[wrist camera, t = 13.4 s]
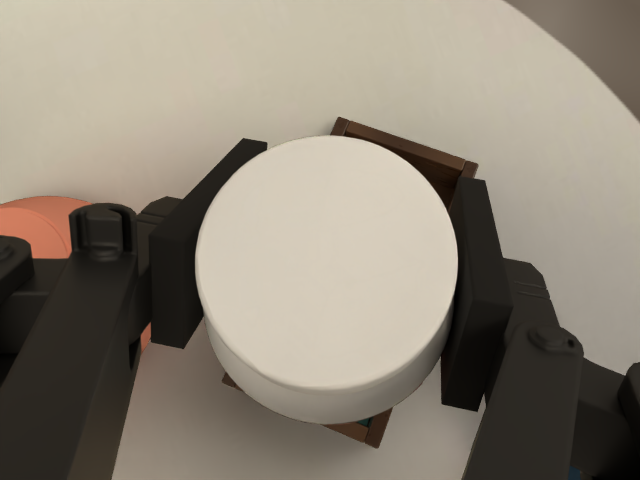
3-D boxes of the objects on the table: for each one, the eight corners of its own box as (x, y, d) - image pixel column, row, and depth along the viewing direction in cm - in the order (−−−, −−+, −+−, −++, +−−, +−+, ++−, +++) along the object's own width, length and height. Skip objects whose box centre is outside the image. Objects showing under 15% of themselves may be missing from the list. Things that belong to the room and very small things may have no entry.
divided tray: (467, 186, 38) (479, 163, 34) (374, 446, 33) (378, 449, 30) (338, 141, 39) (338, 115, 35) (232, 385, 34) (220, 382, 31)
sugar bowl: (212, 295, 36) (163, 249, 26) (49, 479, 33) (-73, 505, 23) (80, 183, 39) (-9, 104, 29) (-81, 345, 36) (-241, 318, 26)
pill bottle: (428, 414, 18) (521, 410, 9) (254, 433, 19) (165, 448, 9) (402, 246, 20) (458, 95, 11) (243, 263, 20) (159, 127, 11)
